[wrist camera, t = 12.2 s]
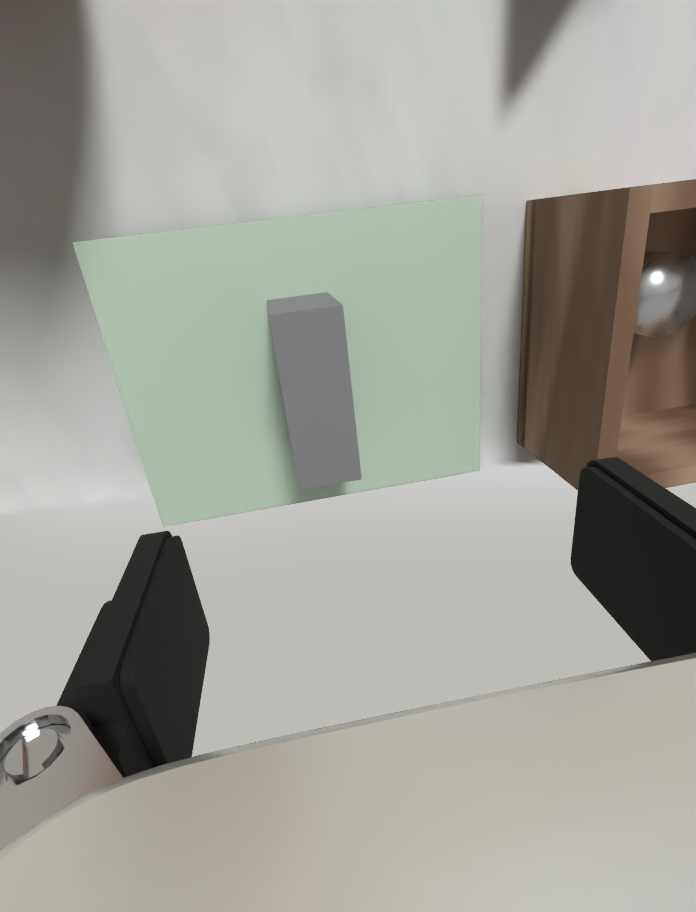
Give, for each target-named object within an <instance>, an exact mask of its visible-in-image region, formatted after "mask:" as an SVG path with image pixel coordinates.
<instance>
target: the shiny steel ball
mask: <svg viewBox="0 0 696 912" xmlns="http://www.w3.org/2000/svg"><path fill="white" fill-rule="evenodd" d="M695 314H696V258H695V257H694V256H692V255H690V254H687V253H678V252H653V251H645V254H644V261H643V268H642V275H641V283H640V290H639V297H638V304H637V312H636V319H635V326H634V333H636V334H640V335H644V336H648V337H652V338H661V337H666V336H669V335H671V334H673V333H675V332H677V331H679V330H680V329H682V328H683V327H684V326H685V325H686V324H687V323H688V322H689V321H690V320H691V319H692V318H693V317H694V315H695Z"/></svg>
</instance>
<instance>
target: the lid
mask: <svg viewBox="0 0 696 912" xmlns="http://www.w3.org/2000/svg"><path fill="white" fill-rule="evenodd" d="M72 244H73V247H74V250H75V253H76V256H77V259H78V262H79V265H80V269H81V272H82V275H83V278H84V281H85V284H86V287H87V290H88V293H89V297H90V300H91V303H92V306H93V309H94V312H95V315H96V318H97V322H98V325H99V328H100V331H101V334H102V337H103V340H104V343H105V347H106V350H107V353H108V356H109V359H110V362H111V365H112V368H113V371H114V375H115V378H116V381H117V384H118V387H119V390H120V393H121V396H122V400H123V403H124V406H125V409H126V412H127V415H128V418H129V421H130V425H131V428H132V431H133V434H134V437H135V440H136V443H137V446H138V449H139V453H140V456H141V459H142V462H143V465H144V468H145V471H146V474H147V478H148V481H149V484H150V487H151V490H152V493H153V496H154V499H155V503H156V505H157V509H158V512H159V515H160V518H161V521H162V524H163V526H170V525H175V524H181V523H187V522H192V521H198V520H203V519H209V518H215V517H220V516H226V515H232V514H237V513H243V512H249V511H254V510H260V509H266V508H271V507H277V506H283V505H288V504H294V503H300V502H305V501H311V500H317V499H322V498H328V497H333V496H339V495H345V494H351V493H356V492H362V491H367V490H373V489H378V488H384V487H390V486H396V485H401V484H407V483H413V482H418V481H424V480H429V479H435V478H440V477H446V476H452V475H458V474H464V473H469V472H475V471H480V379H481V260H482V195H474V196H466V197H457V198H448V199H440V200H431V201H423V202H414V203H405V204H397V205H388V206H380V207H371V208H362V209H354V210H345V211H337V212H328V213H319V214H311V215H302V216H294V217H285V218H276V219H268V220H259V221H250V222H242V223H233V224H225V225H216V226H207V227H199V228H190V229H182V230H173V231H164V232H156V233H147V234H139V235H130V236H121V237H113V238H104V239H96V240H87V241H78V242H72Z"/></svg>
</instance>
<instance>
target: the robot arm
mask: <svg viewBox="0 0 696 912" xmlns="http://www.w3.org/2000/svg"><path fill="white" fill-rule="evenodd" d="M571 566H572V569H573V571H574V573H575V575H576V576H577V577H578V578H579V580H580V581H581V582H582V583H583V584H584V585H585V586H586V588H587V589H588V590H589V591H590V592H591V593H592V594H593V596H594V597H595V598H596V599H597V600H598V601H599V602H600V603H601V605H602V606H603V607H604V608H605V609H606V610H607V611H608V612H609V614H610V615H611V616H612V617H613V618H614V619H615V620H616V622H617V623H618V624H619V625H620V626H621V627H622V629H623V630H624V631H625V632H626V633H627V634H628V635H629V636H630V638H631V639H632V640H633V641H634V642H635V643H636V644H637V646H638V647H639V648H640V649H641V650H642V651H643V652H644V654H645V655H646V656H647V657H648V658H649V659H650V660H651V662H646V663H641V664H636V665H631V666H625V667H620V668H615V669H610V670H605V671H600V672H595V673H590V674H584V675H580V676H575V677H570V678H564V679H559V680H554V681H549V682H545V683H539V684H534V685H529V686H525V687H519V688H515V689H509V690H505V691H500V692H494V693H490V694H485V695H480V696H475V697H470V698H465V699H460V700H455V701H450V702H445V703H440V704H435V705H430V706H425V707H421V708H416V709H411V710H406V711H401V712H396V713H392V714H387V715H382V716H377V717H373V718H368V719H363V720H358V721H354V722H349V723H344V724H339V725H334V726H329V727H324V728H320V729H315V730H310V731H306V732H301V733H296V734H291V735H287V736H282V737H277V738H273V739H268V740H264V741H259V742H255V743H250V744H246V745H241V746H237V747H232V748H228V749H224V750H220V751H215V752H211V753H206V754H202V755H198V756H195V757H191V756H192V750H193V744H194V737H195V731H196V724H197V718H198V712H199V706H200V699H201V693H202V687H203V680H204V674H205V667H206V661H207V655H208V648H209V628H208V624H207V621H206V618H205V615H204V611H203V609H202V605H201V602H200V599H199V595H198V592H197V589H196V586H195V582H194V579H193V576H192V573H191V569H190V566H189V563H188V560H187V557H186V553H185V550H184V547H183V543H182V541H181V538H180V537H179V536H173V537H172V535H171V533H170V532H169V531H164V532H158V533H151V534H146V535H142V536H141V537H140V538H139V540H138V543H137V545H136V547H135V549H134V551H133V554H132V556H131V558H130V561H129V563H128V565H127V568H126V570H125V572H124V574H123V577H122V579H121V581H120V583H119V585H118V588H117V590H116V592H115V595H114V597H113V599H112V601H108V602H106V603H105V604H104V605H103V607H102V608H101V610H100V612H99V615H98V617H97V619H96V621H95V623H94V625H93V627H92V630H91V632H90V634H89V636H88V638H87V641H86V643H85V645H84V647H83V649H82V651H81V654H80V656H79V658H78V660H77V662H76V664H75V667H74V669H73V671H72V673H71V675H70V678H69V680H68V682H67V684H66V686H65V688H64V691H63V693H62V695H61V697H60V699H59V701H58V704H57V706H54V707H46V708H43V709H40V710H38V711H34V712H32V713H30V714H28V715H26V716H24V717H23V718H21V719H19V720H17V721H16V722H14V723H13V724H12V725H10V726H9V727H8V728H6V729H5V730H4V731H3V732H2V733H0V912H696V508H694V507H693V506H691V505H690V504H688V503H687V502H685V501H684V500H682V499H681V498H679V497H677V496H676V495H674V494H673V493H671V492H670V491H668V490H667V489H665V488H664V487H662V486H661V485H659V484H658V483H656V482H655V481H653V480H652V479H650V478H648V477H647V476H645V475H644V474H642V473H641V472H639V471H638V470H636V469H635V468H633V467H632V466H630V465H629V464H627V463H626V462H624V461H623V460H621V459H619V458H617V457H609V458H603V459H597V460H591V461H589V462H588V463H587V465H586V468H583V469H582V470H581V472H580V478H579V487H578V497H577V506H576V516H575V526H574V535H573V543H572V553H571Z"/></svg>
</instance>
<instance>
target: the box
mask: <svg viewBox="0 0 696 912" xmlns="http://www.w3.org/2000/svg"><path fill="white" fill-rule="evenodd" d="M645 251H653V252H678V253H687V254H690V255H692V256H694V257H695V258H696V179H695V180H687V181H678V182H670V183H662V184H654V185H645V186H637V187H629V188H621V189H614V190H606V191H598V192H591V193H583V194H575V195H568V196H560V197H552V198H545V199H537V200H529V201H527V213H526V237H525V261H524V285H523V309H522V333H521V358H520V382H519V406H518V430H517V442H518V443H519V444H521V445H522V446H523V447H524V448H526V449H527V450H528V451H529V452H531V453H532V454H533V455H534V456H536V457H537V458H538V459H539V460H541V461H542V462H543V463H544V464H546V465H547V466H548V467H549V468H551V469H552V470H553V471H554V472H556V473H557V474H558V475H559V476H561V477H562V478H563V479H564V480H566V481H567V482H568V483H569V484H571V485H572V486H573V487H574V488H576V489H577V490H578V487H579V478H580V472H581V470H582V469H583V468H586V465H587V463H588V462H589V461H591V460H597V459H603V458H609V457H617V458H619V459H621V460H623V461H624V462H626V463H627V464H629V465H630V466H632V467H633V468H635V469H636V470H638V471H639V472H641V473H642V474H644V475H645V476H647V477H648V478H650V479H652V480H653V481H655V482H656V483H658V484H659V485H661V486H662V487H664V488H668V487H673V486H678V485H683V484H688V483H694V482H696V314H695V315H694V317H693V318H692V319H691V320H690V321H689V322H688V323H687V324H686V325H685V326H684V327H683V328H682V329H680V330H679V331H677V332H675V333H673V334H671V335H669V336H666V337H661V338H652V337H648V336H644V335H640V334H636V333H634V326H635V319H636V312H637V304H638V297H639V290H640V283H641V275H642V268H643V261H644V254H645Z"/></svg>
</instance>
